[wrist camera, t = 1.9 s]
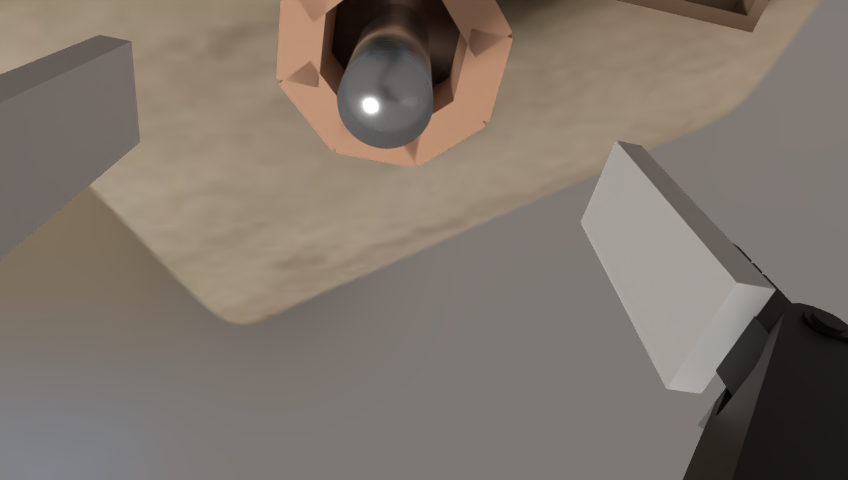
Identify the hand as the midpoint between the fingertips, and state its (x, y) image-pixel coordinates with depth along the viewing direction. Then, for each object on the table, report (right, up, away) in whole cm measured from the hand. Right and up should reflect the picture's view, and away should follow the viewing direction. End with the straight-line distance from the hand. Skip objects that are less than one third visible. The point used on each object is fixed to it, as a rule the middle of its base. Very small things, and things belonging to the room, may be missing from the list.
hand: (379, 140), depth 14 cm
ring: (0, +6, +9) cm, 11 cm away
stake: (0, +10, +15) cm, 18 cm away
